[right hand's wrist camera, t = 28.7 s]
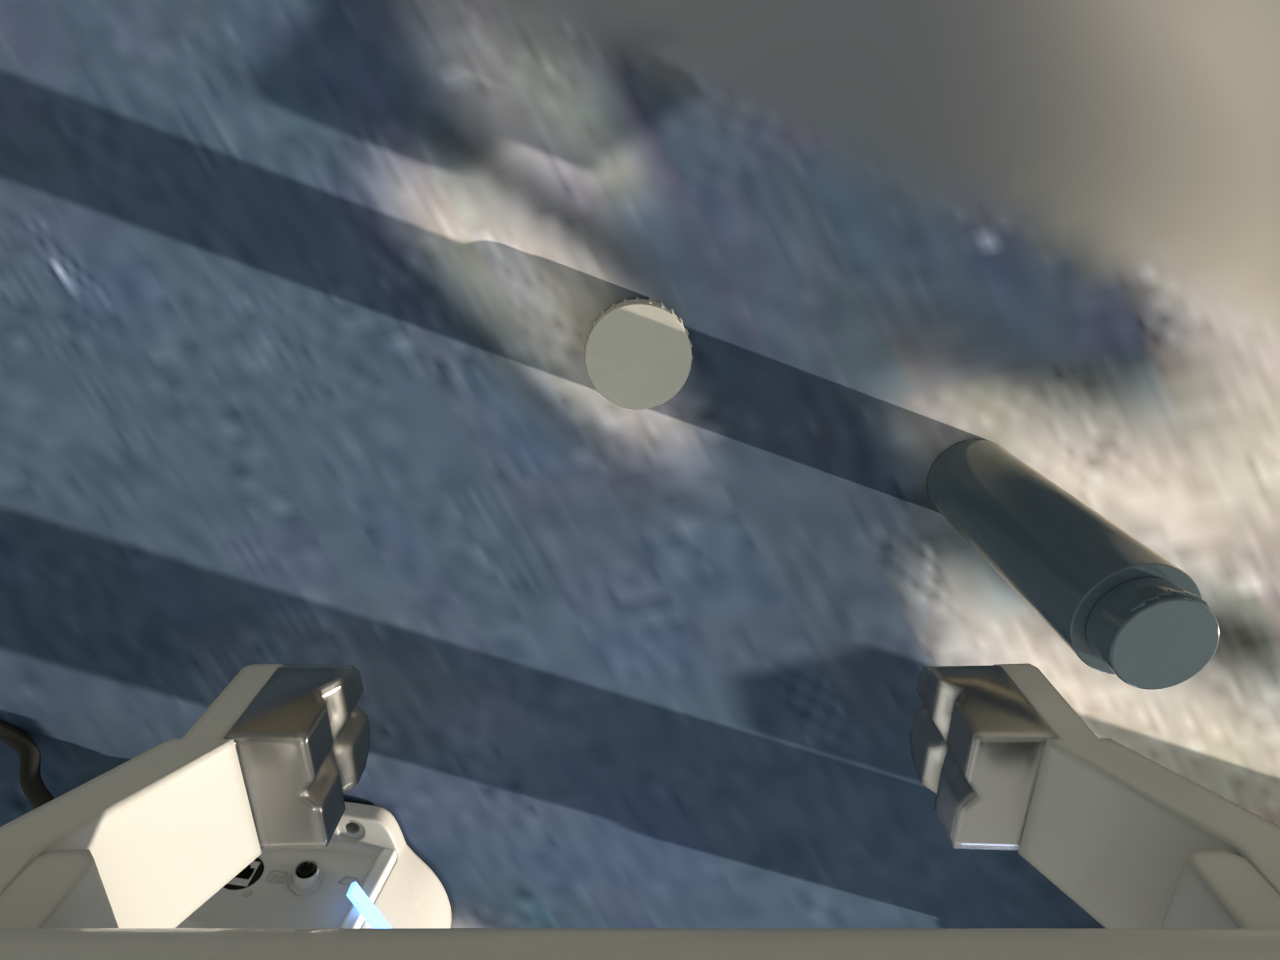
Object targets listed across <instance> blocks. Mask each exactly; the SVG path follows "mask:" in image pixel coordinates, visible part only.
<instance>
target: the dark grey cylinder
mask: <svg viewBox="0 0 1280 960" xmlns="http://www.w3.org/2000/svg"><path fill="white" fill-rule="evenodd" d="M927 491H928V495H929V498H930V500H931V502H932V504H933V505H934V507H935V508H936V509H937V510H938V511H939V512H940V513H941V514H942V515H943V516H944V517H945V518H946V519H947V520H948V521H949V522H950V524H951V525H952V526H953V527H954V528H955V529H956V530H957V531H958V532H959V533H960V534H961V535H962V536H963V537H964V538H965V539H966V540H967V541H968V542H969V543H970V544H971V545H972V547H973V548H974V549H975V550H976V551H977V552H978V553H979V554H980V555H981V556H982V557H983V558H984V559H985V560H986V561H987V562H988V563H989V564H990V565H991V566H992V567H993V568H994V569H995V571H996V572H997V573H998V574H999V575H1000V576H1001V577H1002V578H1003V579H1004V580H1005V581H1006V582H1007V583H1008V584H1009V585H1010V586H1011V587H1012V588H1013V589H1014V590H1015V591H1016V592H1017V593H1018V595H1019V596H1020V597H1021V598H1022V599H1023V600H1024V601H1025V602H1026V603H1027V604H1028V605H1029V606H1030V607H1031V608H1032V609H1033V610H1034V611H1035V612H1036V613H1037V614H1038V615H1039V616H1040V617H1041V619H1042V620H1043V621H1044V622H1045V623H1046V624H1047V625H1048V626H1049V627H1050V628H1051V629H1052V630H1053V631H1054V632H1055V633H1056V634H1057V635H1058V636H1059V637H1060V638H1061V639H1062V640H1063V641H1064V643H1065V644H1066V645H1067V646H1068V647H1069V648H1070V649H1071V650H1072V651H1073V652H1074V653H1075V654H1076V655H1077V656H1078V657H1079V658H1080V659H1081V660H1082V661H1083V662H1084V663H1085V664H1087V665H1088V666H1090V667H1092V668H1093V669H1096V670H1098V671H1101V672H1105V673H1110V674H1116V675H1117V676H1118V677H1119V678H1120V679H1121V680H1122V681H1124V682H1125V683H1127V684H1129V685H1132V686H1134V687H1138V688H1142V689H1162V688H1167V687H1171V686H1174V685H1177V684H1179V683H1182V682H1184V681H1186V680H1188V679H1189V678H1191V677H1192V676H1194V675H1195V674H1197V673H1198V672H1199V671H1200V670H1201V669H1202V668H1203V667H1205V665H1206V664H1207V663H1208V662H1209V661H1210V659H1211V658H1212V656H1213V655H1214V653H1215V651H1216V649H1217V646H1218V643H1219V638H1220V629H1219V624H1218V621H1217V619H1216V617H1215V615H1214V614H1213V613H1212V611H1211V610H1210V608H1209V607H1208V605H1207V603H1206V602H1205V601H1203V600H1202V598H1201V594H1200V591H1199V589H1198V587H1197V585H1196V583H1195V582H1194V581H1193V580H1192V578H1191V577H1189V576H1188V575H1187V574H1186V573H1185V572H1183V571H1182V570H1180V569H1179V568H1177V567H1176V566H1174V565H1173V564H1172V563H1170V562H1169V561H1167V560H1166V559H1164V558H1163V557H1161V556H1160V555H1158V554H1157V553H1155V552H1154V551H1153V550H1151V549H1150V548H1148V547H1147V546H1145V545H1144V544H1142V543H1141V542H1139V541H1138V540H1137V539H1135V538H1134V537H1132V536H1131V535H1129V534H1128V533H1126V532H1125V531H1123V530H1122V529H1120V528H1119V527H1118V526H1116V525H1115V524H1113V523H1112V522H1110V521H1109V520H1107V519H1106V518H1104V517H1103V516H1102V515H1100V514H1099V513H1097V512H1096V511H1094V510H1093V509H1091V508H1090V507H1088V506H1087V505H1085V504H1084V503H1083V502H1081V501H1080V500H1078V499H1077V498H1075V497H1074V496H1072V495H1071V494H1069V493H1068V492H1067V491H1065V490H1064V489H1062V488H1061V487H1059V486H1058V485H1056V484H1055V483H1053V482H1052V481H1050V480H1049V479H1048V478H1046V477H1045V476H1043V475H1042V474H1040V473H1039V472H1037V471H1036V470H1034V469H1033V468H1032V467H1030V466H1029V465H1027V464H1026V463H1024V462H1023V461H1021V460H1020V459H1018V458H1017V457H1015V456H1014V455H1013V454H1011V453H1010V452H1008V451H1007V450H1005V449H1004V448H1002V447H1001V446H999V445H998V444H996V443H994V442H991V441H988V440H982V439H974V440H967V441H963V442H960V443H958V444H955V445H953V446H952V447H950V448H948V449H947V450H946V451H945V452H943V453H942V454H941V455H940V456H939V457H938V459H937V460H936V461H935V463H934V464H933V466H932V468H931V470H930V472H929V476H928V481H927Z"/></svg>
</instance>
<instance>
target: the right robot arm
mask: <svg viewBox="0 0 1280 960" xmlns="http://www.w3.org/2000/svg"><path fill="white" fill-rule="evenodd" d="M362 692H363V686H362V681H361V676H360V671H359V670H358V669H357V668H355V667H354V666H346V665H299V664H286V665H283V664H251V665H248V666H246V667H243V668H242V669H241V670H240V671H239V672H238V674H237V675H236V676H235V677H234V678H233V679H232V681H231V682H230V683H229V684H228V685H227V686H226V688H225V689H224V690H223V691H222V692H221V693H220V695H219V696H218V697H217V698H216V699H215V700H214V702H213V703H212V704H211V705H210V706H209V707H208V709H207V710H206V711H205V712H204V713H203V714H202V716H201V717H200V718H199V719H198V720H197V721H196V723H195V724H194V725H193V726H192V727H191V728H190V730H189V731H188V732H187V733H186V734H185V735H184V737H183V738H182V739H169V740H167V741H165V742H163V743H161V744H159V745H158V746H156V747H154V748H152V749H150V750H148V751H146V752H144V753H142V754H140V755H138V756H136V757H134V758H132V759H130V760H129V761H127V762H125V763H123V764H121V765H119V766H117V767H115V768H113V769H111V770H109V771H107V772H105V773H103V774H102V775H100V776H98V777H96V778H94V779H92V780H90V781H88V782H86V783H84V784H82V785H80V786H78V787H76V788H74V789H73V790H71V791H69V792H67V793H65V794H63V795H61V796H59V797H57V798H54V797H53V796H52V795H51V793H50V792H49V791H48V789H47V788H46V786H45V785H44V783H43V781H42V779H41V775H40V760H41V758H40V751H39V748H38V746H37V744H36V743H35V742H34V741H33V740H32V739H31V738H30V737H29V736H27V735H26V734H25V733H24V732H22V731H21V730H19V729H18V728H16V727H15V726H13V725H11V724H9V723H6V722H4V721H1V720H0V739H1V740H2V741H4V742H6V743H7V744H9V745H10V746H11V747H12V748H13V749H15V750H16V751H17V752H18V754H19V756H20V783H21V787H22V789H23V792H24V793H25V795H26V797H27V798H28V800H29V801H30V803H31V804H32V805H33V806H34V808H35V809H34V810H32V811H30V812H28V813H26V814H24V815H22V816H20V817H18V818H17V819H15V820H13V821H11V822H9V823H7V824H5V825H3V826H1V827H0V960H1280V827H1278V826H1276V825H1275V824H1273V823H1271V822H1269V821H1267V820H1265V819H1263V818H1261V817H1259V816H1257V815H1255V814H1253V813H1251V812H1250V811H1248V810H1246V809H1244V808H1242V807H1240V806H1238V805H1236V804H1234V803H1232V802H1230V801H1228V800H1226V799H1225V798H1223V797H1221V796H1219V795H1217V794H1215V793H1213V792H1211V791H1209V790H1207V789H1205V788H1203V787H1201V786H1199V785H1198V784H1196V783H1194V782H1192V781H1190V780H1188V779H1186V778H1184V777H1182V776H1180V775H1178V774H1176V773H1174V772H1173V771H1171V770H1169V769H1167V768H1165V767H1163V766H1161V765H1159V764H1157V763H1155V762H1153V761H1151V760H1149V759H1147V758H1146V757H1144V756H1142V755H1140V754H1138V753H1136V752H1134V751H1132V750H1130V749H1128V748H1126V747H1124V746H1122V745H1121V744H1119V743H1117V742H1115V741H1113V740H1111V739H1098V738H1097V737H1096V735H1095V734H1094V733H1093V732H1092V731H1091V730H1090V728H1089V727H1088V726H1087V725H1086V724H1085V723H1084V721H1083V720H1082V719H1081V718H1080V717H1079V716H1078V715H1077V713H1076V712H1075V711H1074V710H1073V709H1072V708H1071V706H1070V705H1069V704H1068V703H1067V702H1066V701H1065V699H1064V698H1063V697H1062V696H1061V695H1060V694H1059V692H1058V691H1057V690H1056V689H1055V688H1054V687H1053V685H1052V684H1051V683H1050V682H1049V681H1048V680H1047V678H1046V677H1045V676H1044V675H1043V674H1042V673H1041V671H1040V670H1039V669H1038V668H1037V667H1035V666H1033V665H1031V664H1002V665H993V666H924V667H923V669H922V671H921V673H920V675H919V680H918V685H917V692H918V694H919V696H920V698H921V699H922V701H923V703H924V705H923V706H922V707H921V708H920V709H919V710H918V711H917V712H916V713H915V714H914V715H913V716H912V723H911V731H910V743H911V754H912V758H913V762H914V765H915V769H916V771H917V774H918V776H919V778H920V780H921V782H922V784H923V785H925V786H926V787H927V788H929V789H930V790H932V791H933V792H934V793H936V794H937V796H936V801H935V807H934V809H935V811H936V813H937V815H938V817H939V819H940V822H941V824H942V826H943V828H944V830H945V832H946V834H947V836H948V838H949V840H950V842H951V844H952V846H953V848H958V849H994V850H1019V852H1018V854H1020V855H1021V856H1022V857H1023V858H1024V859H1025V860H1027V861H1028V862H1029V863H1030V864H1031V865H1032V866H1034V867H1035V868H1036V869H1037V870H1038V871H1039V872H1041V873H1042V874H1043V875H1044V876H1045V877H1046V878H1048V879H1049V880H1050V881H1051V882H1052V883H1053V884H1055V885H1056V886H1057V887H1058V888H1059V889H1060V890H1062V891H1063V892H1064V893H1065V894H1066V895H1067V896H1069V897H1070V898H1071V899H1072V900H1073V901H1074V902H1076V903H1077V904H1078V905H1079V906H1080V907H1081V908H1083V909H1084V910H1085V911H1086V912H1087V913H1088V914H1090V915H1091V916H1092V917H1093V918H1094V919H1095V920H1096V921H1098V922H1099V923H1100V924H1101V925H1102V926H1103V927H1105V928H1083V929H1082V928H1081V929H756V928H450V927H451V907H450V903H449V899H448V896H447V894H446V891H445V889H444V887H443V886H442V884H441V882H440V881H439V879H438V878H437V876H436V875H435V874H434V872H433V871H432V870H431V869H430V868H429V867H428V866H427V865H426V864H425V863H424V862H423V861H422V860H421V859H420V858H419V857H418V856H417V855H416V854H415V853H414V852H413V851H412V850H411V849H410V848H409V847H408V845H407V844H406V842H405V839H404V837H403V834H402V832H401V829H400V827H399V825H398V823H397V821H396V820H395V818H394V817H393V815H392V814H391V813H390V812H389V811H387V810H386V809H384V808H381V807H378V806H373V805H367V804H360V803H353V802H346V801H344V796H343V794H344V793H346V792H347V791H348V790H350V789H351V788H353V787H354V786H355V785H357V784H358V782H359V780H360V778H361V776H362V773H363V771H364V769H365V766H366V761H367V757H368V752H369V747H370V728H369V722H368V716H367V715H366V714H365V713H364V712H363V711H362V710H361V709H360V708H359V707H358V706H357V705H356V703H357V701H358V699H359V698H360V696H361V694H362Z"/></svg>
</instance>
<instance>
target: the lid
mask: <svg viewBox="0 0 1280 960" xmlns="http://www.w3.org/2000/svg"><path fill="white" fill-rule="evenodd" d="M688 335H689V333H688V330H687V328H686V329H685V328H684V326H683V322H682V319H681V318H678V317H677V316H676V315H675V314H674V311H673V310H672V309H671V310H669V309H668V308H667V307H665V306H663V303H660V304H659V303H657V302H654V301H651V299H650V298H649V300H645V299H639V297H636V299H632V300H626V299H624V301H623V302H620V303H618V304H615V303H614V304H612V307H610V308H609V309H608V310H606V311H602V314H601V316H600V317H599V318H598V320H596V319H595V321H594V323H593V328H592V330H591V331H590V330H589V333H588V336H587V337H589V338H588V341H587V342H586V344H585V348H584V349H586V351H585V359H584V361H585V362H586V368H587V374H588V375H589V377H590V380H591V382H592V384H593V385H594V387H595V388H596V389H597V390H598V392H599V393H600V394H601V395H602V396H603V397H605V398H606V399H607V400H609V401H610V402H612V403H614V404H616V405H618V406H621V407H624V408H628V409H635V410H642V409H649V408H653V407H656V406H659V405H661V404H663V403H665V402H667V401H668V400H670V399H671V398H672V397H674V396H675V395H676V394H677V393H678V392H679V390H680V389H681V388H682V387H683V385H684V383H685V382H686V380H687V377H688V375H689V372H690V371H691V363H692V359H693V356H692V351H691V347H692V343H691V340H689V338H688Z"/></svg>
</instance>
